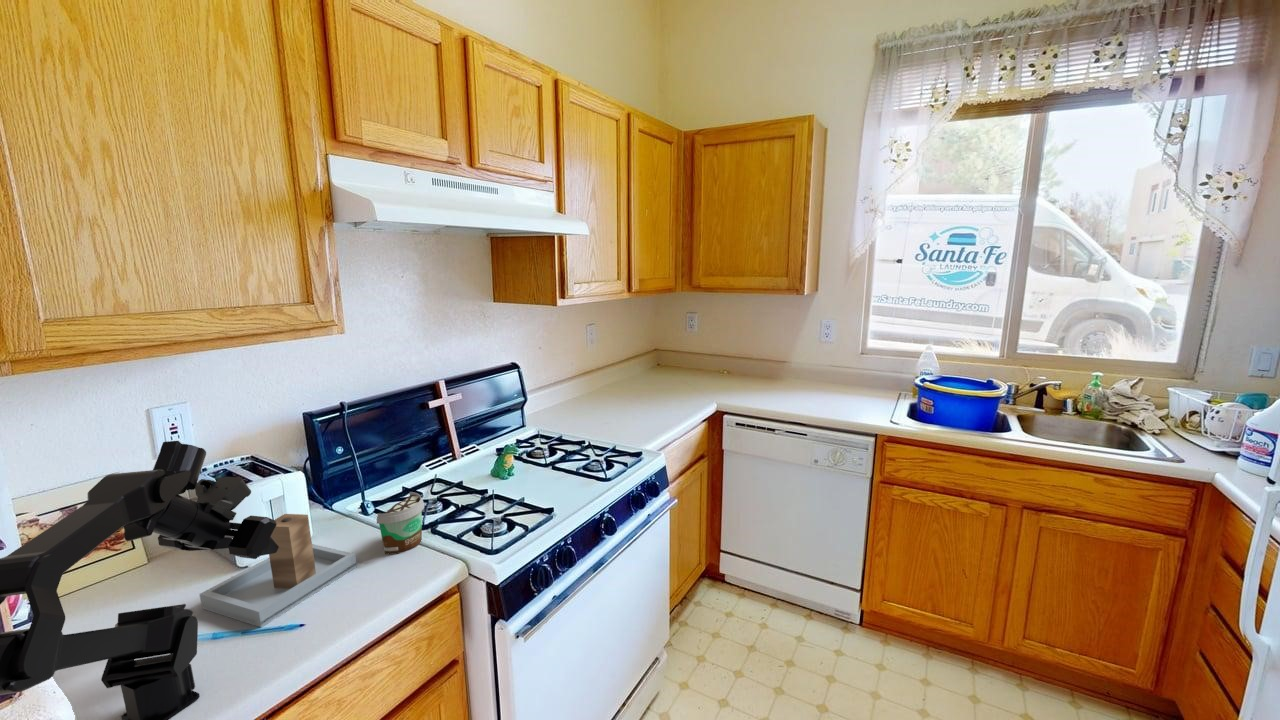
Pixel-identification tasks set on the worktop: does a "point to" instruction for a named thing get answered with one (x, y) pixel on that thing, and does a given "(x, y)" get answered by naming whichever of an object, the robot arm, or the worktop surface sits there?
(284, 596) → the tray
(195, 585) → the worktop surface
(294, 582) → the block
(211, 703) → the worktop surface
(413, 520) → the food container
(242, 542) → the robot arm
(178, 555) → the worktop surface
